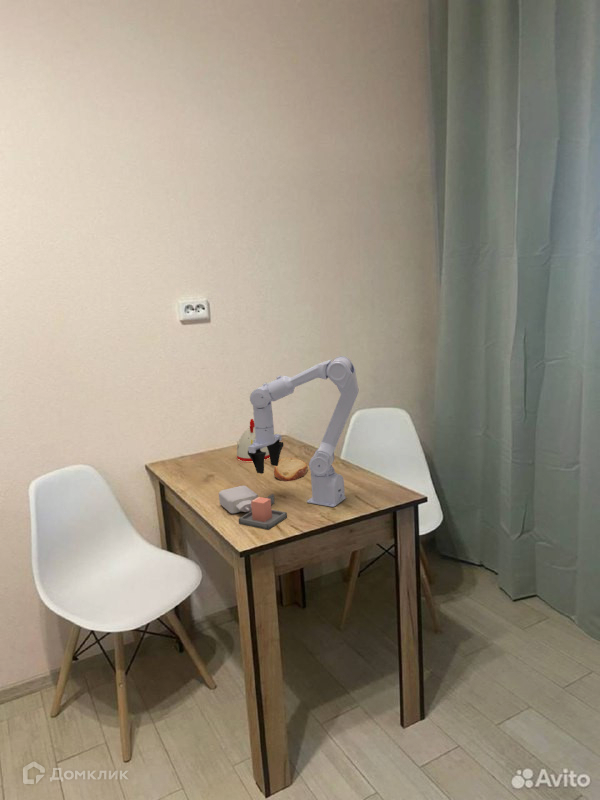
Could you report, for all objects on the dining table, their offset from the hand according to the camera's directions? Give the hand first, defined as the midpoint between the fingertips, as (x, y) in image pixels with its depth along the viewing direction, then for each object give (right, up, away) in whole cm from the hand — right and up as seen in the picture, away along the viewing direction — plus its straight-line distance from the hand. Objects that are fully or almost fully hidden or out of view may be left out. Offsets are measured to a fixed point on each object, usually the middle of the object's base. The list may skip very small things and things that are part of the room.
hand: (267, 469), depth 179 cm
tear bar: (0, -11, -4) cm, 11 cm away
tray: (-1, -13, -14) cm, 19 cm away
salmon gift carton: (-1, -12, -14) cm, 18 cm away
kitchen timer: (-8, -1, +48) cm, 49 cm away
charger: (-7, -12, -5) cm, 15 cm away
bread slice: (+6, -5, +28) cm, 29 cm away
